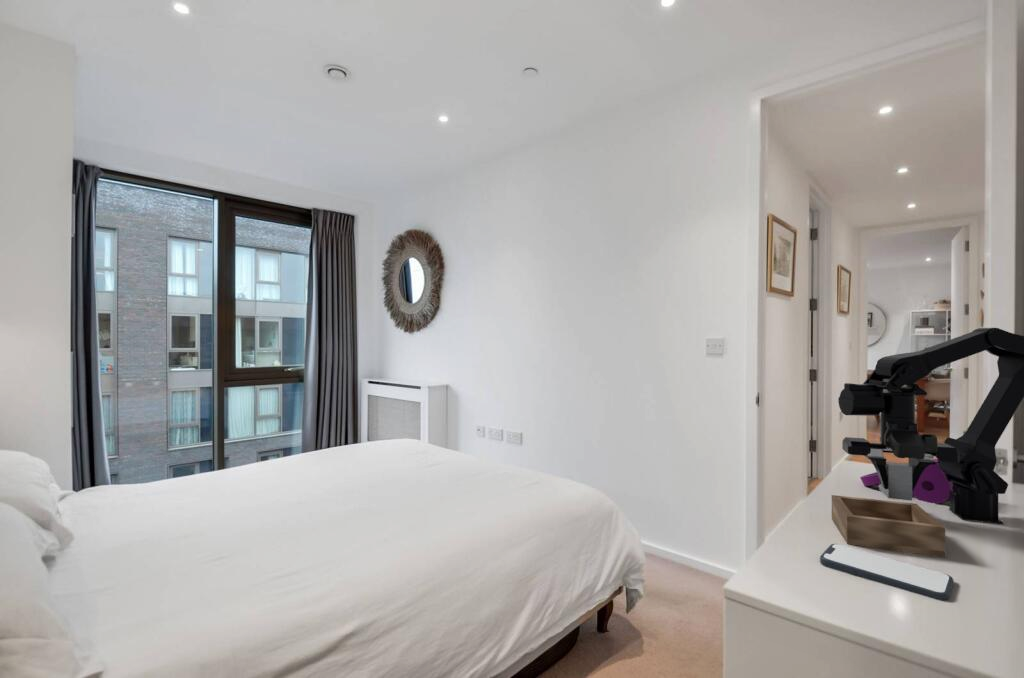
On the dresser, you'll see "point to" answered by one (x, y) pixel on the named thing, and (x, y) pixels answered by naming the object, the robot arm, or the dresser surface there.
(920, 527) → the open wooden box
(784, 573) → the dresser surface
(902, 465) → the grey block
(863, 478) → the mounting bracket
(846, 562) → the phone case
